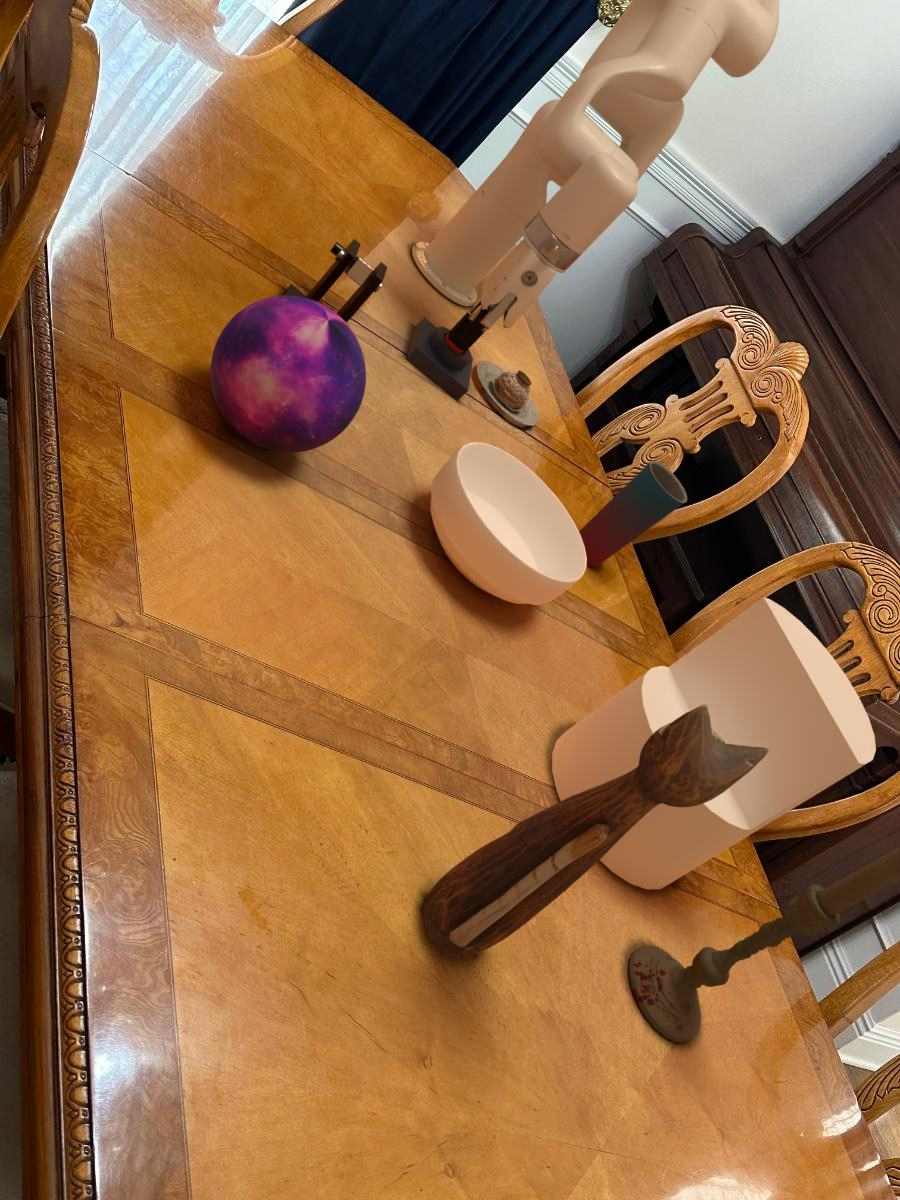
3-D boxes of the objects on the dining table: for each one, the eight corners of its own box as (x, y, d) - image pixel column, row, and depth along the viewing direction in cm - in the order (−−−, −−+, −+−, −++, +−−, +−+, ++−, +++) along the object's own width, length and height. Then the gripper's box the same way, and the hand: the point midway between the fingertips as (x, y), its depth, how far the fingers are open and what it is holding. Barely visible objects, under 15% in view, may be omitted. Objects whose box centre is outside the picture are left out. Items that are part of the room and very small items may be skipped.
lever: (327, 253, 143) (339, 238, 142) (365, 285, 145) (377, 270, 144) (332, 263, 132) (345, 246, 131) (373, 297, 134) (386, 281, 133)
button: (440, 338, 158) (448, 329, 157) (457, 353, 159) (466, 344, 158) (437, 348, 155) (446, 339, 155) (456, 363, 156) (464, 354, 156)
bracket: (285, 290, 141) (344, 218, 135) (343, 337, 144) (403, 269, 138) (268, 324, 133) (330, 249, 127) (330, 373, 136) (393, 302, 130)
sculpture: (500, 930, 97) (784, 745, 82) (452, 985, 90) (756, 792, 75) (450, 864, 98) (723, 669, 83) (398, 913, 90) (688, 708, 76)
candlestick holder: (620, 934, 108) (890, 772, 93) (685, 963, 113) (952, 813, 98) (637, 1028, 102) (930, 870, 87) (705, 1055, 106) (995, 908, 91)
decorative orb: (156, 360, 114) (242, 248, 106) (265, 376, 126) (349, 277, 118) (223, 480, 109) (318, 372, 102) (329, 485, 121) (421, 389, 114)
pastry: (462, 378, 162) (484, 355, 159) (485, 358, 172) (506, 336, 170) (522, 440, 163) (544, 418, 160) (541, 416, 173) (563, 395, 171)
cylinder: (640, 744, 133) (816, 620, 121) (702, 896, 122) (903, 777, 110) (530, 715, 121) (714, 573, 108) (588, 881, 110) (800, 746, 98)
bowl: (553, 586, 142) (603, 544, 138) (508, 653, 125) (562, 608, 121) (443, 468, 141) (489, 423, 137) (381, 520, 124) (432, 470, 120)
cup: (602, 552, 158) (685, 483, 151) (603, 581, 153) (689, 511, 145) (566, 523, 156) (648, 451, 149) (566, 551, 151) (651, 479, 143)
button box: (414, 327, 161) (432, 307, 159) (463, 368, 164) (482, 349, 162) (406, 358, 153) (425, 337, 151) (457, 401, 156) (477, 381, 154)
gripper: (572, 284, 142) (473, 385, 151) (572, 241, 154) (480, 337, 163) (527, 243, 140) (429, 348, 149) (530, 203, 152) (439, 303, 161)
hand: (456, 342), depth 156 cm, fingers closed
